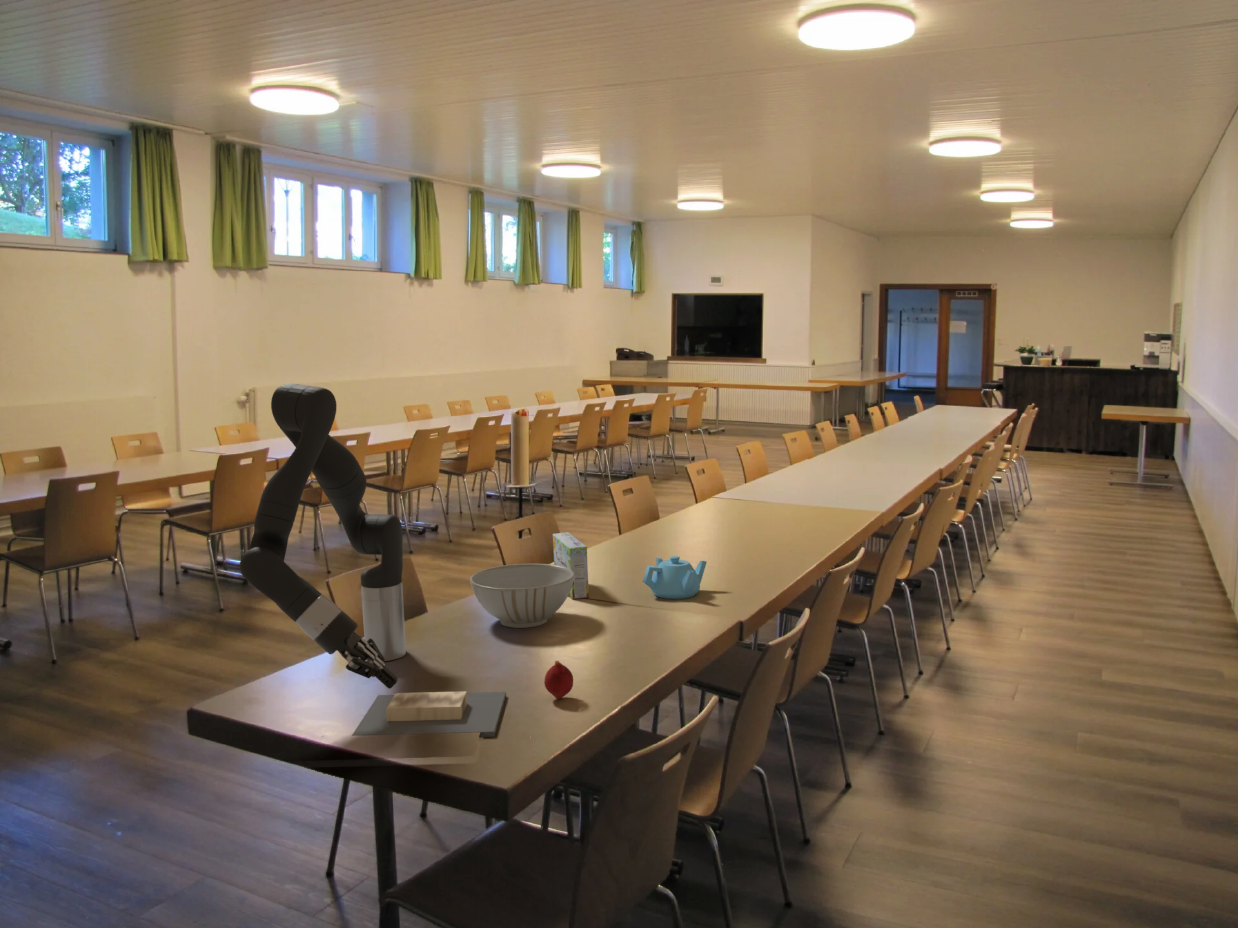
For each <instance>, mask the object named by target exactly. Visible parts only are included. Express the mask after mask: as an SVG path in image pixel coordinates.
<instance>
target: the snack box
mask: <svg viewBox="0 0 1238 928" xmlns="http://www.w3.org/2000/svg"><path fill="white" fill-rule="evenodd" d="M552 546H553V547H552V548H553V563H554V564H553V565H557V566H562V567H566V568H568V569H570V570H572V571H573V572H574V574H575V576H574V581H573V585H572V588H571V590H570V593H569V595H568V597H569V598H570V599H571V600H573V601H574V600H579V599H588V598H590V590H589V570H588V567H589V565H588V564H589V563H588V546H587V545H585V544H584V543H583V542H581V541H580V540H579V539H577V538H576V537H575V536H573V534H571V533H570V532H568V531H566V532H559V533H552Z"/></svg>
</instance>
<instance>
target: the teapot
mask: <svg viewBox="0 0 1238 928" xmlns="http://www.w3.org/2000/svg"><path fill="white" fill-rule="evenodd" d="M655 562H656V563H655V564H656V566H654V565H646V569H645V572H644V576H643V579H642V582H643V583H644V584H645V585H646V586H647V587H649V588H650V590H651V592H652V593H653V594H654V595H655V596H656V597H658V598H659V599H660V598H661V599H666V600H667V599H668V600H683V599H685V600H686V599H689V598H692V597H694V596H695V595H697V594H698V593H699V591H700V588H701V583H702V580H703V576H704V573H705V569H706V567H707V566H706V565H707V560H699V563H697V565H696V567H695V568H694V567H693V566H692V564H691V563H690V562H689V561H687V560H684V559H680V556H679V555H673V556H670V557H669V559H667V560H663V558H661V557H657V558H655Z"/></svg>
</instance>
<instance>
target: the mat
mask: <svg viewBox="0 0 1238 928" xmlns="http://www.w3.org/2000/svg"><path fill="white" fill-rule="evenodd" d="M394 695H395V694H378V695H377V696H376V697H375V698H374V700H373V702H372V703H371V705H370V707H369V709H368V710H367V712H366V713H365V714H364V716H363V718H362V719H361V720H360V722H359V723H358V725H357V727H356V728H355V730H354V731H353V732H352V735H351V736H382V735H383V736H384V735H385V736H389V735H416V734H417V735H423V734H427V735H428V734H430V735H431V734H457V733H459V734H460V733H462V734H463V733H466V734H467V733H479V736H478V737H479V738H490V737H491V738H494V737H495V735H496V734H497V733H496V732H497V729H498V726H499V725H498V724H499V721H500V718H501V716H502V715H501V714H502V712H503V708H504V704H505V701H506V698H507V692H506V691H485V692H484V691H481V692H478V691H477V692H467V705H466V708H465V710H464V713H463V715H462V718H461V719H456V720H419V721H387V715H386V708H387V706H388V705H389V703H390V701H391V700H392V698H393V697H394Z"/></svg>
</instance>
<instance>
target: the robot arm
mask: <svg viewBox="0 0 1238 928" xmlns="http://www.w3.org/2000/svg"><path fill="white" fill-rule="evenodd" d="M270 400H271V402H270V404H271V405H270V408H271V414H272V417H273V419H274V421H275V423H276V425H277V426H278V427H279V429H280V430H281V431H282V433H283V434H284V435H285V436H286V438H288V440H289V441H290V442H291V444H292V445H293V446H294V447H295V448H294V450H293V451H292V453H291V455H290V456H289V458H288V459H287V460H285V462H284V463H283V465H281V466H280V467H279V469H278V470H277V471H276V472H274V474H273V475H272V477H271V478H270V479H269V480H268V482H267V483H266V485H265V486H264V488H263V491H262V494H261V497H260V500H259V504H258V507H257V511H256V514H255V517H254V521H253V529H254V530H253V535H252V537H251V541H250V543H249V544H250V545H249V548H248V550H246V552H245V553H244V554H243V555H242V557H241V559H240V562H239V570H240V573H241V576H242V577H243V578H244V579H245V580H246V582H248V583H249V584H250V585H251V586H252V587H254V588H255V589H256V590H257V591H259V592H260V593H262V594H263V595H264V596H266V597H267V598H268V599H270V601H272V602H274V603H275V605H276V606H277V607H278V608H279V609H280V610H281V611H282V612H283V613H284V614H285V615H286V616H287V617H288V618H290V619H291V620H292V621H293V622H295V624H296V625H298V627H299V628H300V630H301V631H303V632H304V634H306V635H307V636H308V637H309V638H310V639H311V640H312V641H314V643H316V644H317V645H318V646H320V648H322V649H323V651H325V652H327V654H329V655H333V654H335V653H336V652H338V653H339V654H340V656H341V658H343V659H344V660H346V661H347V664H346V665H345V669H346V670H348V671H349V672H352V673H354V674H357V675H359V676H361V677H364V678H367V679H370V678H371V677H372V678H376V679H377V680H378V681H379V682H380V683H382V684H383V685H384V686H385V687H386V688H387V689H389V690H390V689H392V688H393V687H394V686H395V685H396V684H397V683H398V681H399V678H398V677H397V676H396V675H395V674H394V673H393V672H392V671H390V670H389V669H388V668H387V667H386V664H385V662H388V661H393V660H398V659H400V658H403V657H404V656H405V655H406V654H407V650H406V648H407V647H406V634H405V633H406V629H405V628H406V627H405V612H404V611H405V608H404V593H403V577H402V576H403V569H404V568H403V567H404V561H403V560H404V559H403V544H404V543H403V541H404V540H403V537H404V536H403V535H404V534H403V526H402V523H401V520H400V517H398V516H397V515H395V514H372V513H371V514H369V513H366V512H365V511H364V510H363V509H362V507H361V503H362V500H363V498H364V495H365V493H366V489H367V478H366V475H365V472H364V471H363V469H362V467H361V465H360V463H359V461H358V460H357V458H356V456H355V455H354V454H353V452H351V451H350V450H349V449H348V448H347V447H346V446H345V445H343V444H342V443H341V442H339V440H336V439H335V438H334V437H333V436H331V435H330V432H331V430H332V427H333V425H334V422H335V418H336V415H337V400H336V396H335V395H334V394H333V392H332V391H331V390H329V389H328V388H325V387H321V386H316V385H315V386H314V385H313V386H312V385H305V384H299V383H287V384H282V385H280V386H279V387H276V389H275V390H274V392H273V394H272V396H271V399H270ZM311 473H312V474H313V475H314V478H315V480H316V481H317V483H318V485H319V486H320V488H321V490H322V491H323V493H324V495H325V496H326V497H327V499H328V501H330V504H331V505H332V507H333V509H334V511H335V512H336V514H337V516H338V518H339V520H340V523H341V525H342V526H343V528H344V531H345V534H346V536H347V539H348V540H349V542H350V544H351V545H350V546H352V548H353V549H354V550H355V551H356V552H357V553H359V554H362V555H369V556H370V555H373V556H375V555H376V556H379V555H380V556H381V559H380V560H381V561H380V563H379V564H378V565H375V566H374V567H373V566H372V567H370V568H368V569H366V570H364V571H362V573H360V591H361V603H362V604H361V605H362V606H361V607H362V621H363V623H362V624H363V625H362V626H363V636H364V638H363V637H362V636H361V635H359V634H357V633H355V631H356V630H357V629H358V627H359V625H358V623H357V622H356V621H355V620H354V619H353V618H351V617H350V616H349V614H347V613H346V612H345V611H344V610H342V609H341V608H340V607H339V606H338V605H337V604H335V602H334V601H332V600H331V599H329V598H328V597H326V596H324V594H322V593H321V592H320V591H319V590H318V589H317V588H316V587H315V586H313V584H311V583H310V582H309V581H307V580H306V579H304V578H303V577H301V576H300V575H298V573H296V572H295V571H294V570H293V569H292V568H291V567H290V566H289V564H287V563H286V562H285V557H286V552H287V548H288V543H289V537H290V534H291V532H292V530H293V527H294V523H295V519H296V518H297V517H296V516H297V513H298V510H299V509H298V508H299V505H300V502H301V498H302V496H303V492H304V490H305V487H306V485H307V482H308V480H309V477H310V475H311Z"/></svg>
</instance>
